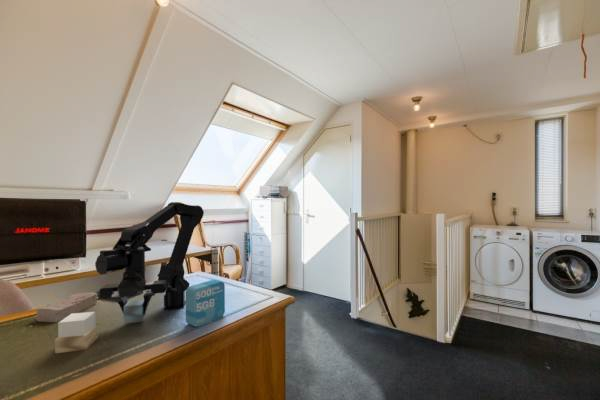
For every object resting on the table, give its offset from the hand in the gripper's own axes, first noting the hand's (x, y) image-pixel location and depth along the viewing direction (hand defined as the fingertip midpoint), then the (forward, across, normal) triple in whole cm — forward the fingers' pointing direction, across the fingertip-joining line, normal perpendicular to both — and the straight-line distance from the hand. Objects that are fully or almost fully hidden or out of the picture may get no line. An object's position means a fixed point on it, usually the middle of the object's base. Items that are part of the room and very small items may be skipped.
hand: (135, 315), depth 90 cm
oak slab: (+3, -11, -11) cm, 16 cm away
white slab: (-1, -11, -11) cm, 16 cm away
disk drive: (+3, -15, +32) cm, 36 cm away
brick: (+3, -26, +17) cm, 31 cm away
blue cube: (+1, 0, 0) cm, 1 cm away
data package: (+3, +22, -4) cm, 23 cm away
